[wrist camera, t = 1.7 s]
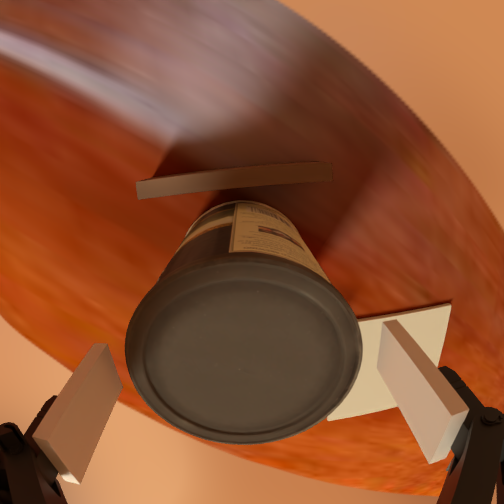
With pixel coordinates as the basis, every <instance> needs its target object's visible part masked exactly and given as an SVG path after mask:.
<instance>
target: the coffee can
mask: <svg viewBox="0 0 504 504" xmlns="http://www.w3.org/2000/svg"><path fill="white" fill-rule="evenodd" d="M362 356H363V342H362V336H361V330H360V327H359V324H358V321H357V318H356V316H355V314H354V312H353V310H352V309H351V307H350V306H349V304H348V303H347V301H346V300H345V299H344V297H343V296H342V295H341V293H340V292H339V291H338V290H337V289H336V288H335V287H334V286H333V285H332V284H331V282H330V280H329V279H328V277H327V276H326V274H325V273H324V271H323V270H322V268H321V267H320V265H319V263H318V262H317V261H316V259H315V258H314V256H313V255H312V253H311V251H310V250H309V248H308V247H307V246H306V244H305V242H304V241H303V239H302V238H301V236H300V234H299V233H298V231H297V229H296V228H295V226H294V225H293V223H292V222H291V221H290V220H289V219H288V218H287V217H286V216H285V215H283V214H282V213H281V212H279V211H278V210H276V209H274V208H272V207H270V206H268V205H266V204H263V203H259V202H254V201H245V200H237V201H231V202H226V203H223V204H220V205H217V206H215V207H213V208H211V209H210V210H208V211H207V212H205V213H204V214H202V215H201V216H200V217H199V218H198V219H197V220H196V221H195V222H194V223H193V224H192V226H191V227H190V229H189V230H188V232H187V234H186V236H185V238H184V240H183V242H182V243H181V245H180V246H179V248H178V250H177V251H176V253H175V254H174V256H173V257H172V259H171V261H170V262H169V263H168V265H167V267H166V268H165V270H164V271H163V272H162V274H161V276H160V277H159V279H158V281H157V283H156V284H155V286H154V287H153V288H152V289H151V290H150V291H149V292H148V293H147V294H146V295H145V297H144V298H143V299H142V301H141V302H140V304H139V305H138V307H137V308H136V310H135V312H134V314H133V316H132V318H131V320H130V322H129V325H128V329H127V332H126V338H125V357H126V364H127V368H128V371H129V374H130V377H131V380H132V381H133V384H134V386H135V388H136V390H137V391H138V393H139V395H140V396H141V397H142V399H143V400H144V401H145V402H146V404H147V405H148V406H149V407H150V408H151V409H152V410H153V411H154V412H155V413H156V414H158V415H159V416H160V417H161V418H163V419H164V420H165V421H167V422H168V423H170V424H171V425H173V426H174V427H176V428H178V429H180V430H182V431H184V432H186V433H188V434H191V435H193V436H196V437H199V438H202V439H205V440H209V441H213V442H218V443H225V444H237V445H252V444H263V443H269V442H274V441H278V440H282V439H285V438H289V437H292V436H294V435H297V434H299V433H301V432H303V431H306V430H308V429H309V428H311V427H313V426H314V425H316V424H318V423H319V422H321V421H322V420H324V419H325V418H326V417H327V416H329V415H330V414H331V413H332V412H333V411H334V410H335V409H336V408H337V407H338V406H339V405H340V404H341V403H342V402H343V400H344V399H345V398H346V397H347V395H348V394H349V392H350V390H351V389H352V387H353V385H354V383H355V381H356V379H357V376H358V373H359V371H360V367H361V362H362Z"/></svg>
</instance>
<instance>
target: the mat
mask: <svg viewBox="0 0 504 504" xmlns="http://www.w3.org/2000/svg"><path fill="white" fill-rule="evenodd" d="M450 310H451V304H450V303H447V304H442V305H437V306H432V307H427V308H421V309H416V310H411V311H405V312H400V313H394V314H388V315H382V316H376V317H369V318H363V319H357V321H358V324H359V327H360V330H361V336H362V342H363V356H362V362H361V367H360V371H359V373H358V376H357V379H356V381H355V383H354V385H353V387H352V389H351V390H350V392H349V394H348V395H347V397H346V398H345V399H344V400H343V402H342V403H341V404H340V405H339V406H338V407H337V408H336V409H335V410H334V411H333V412H332V413H331V414H330V415H329V416H327V420H328V421H332V420H337V419H343V418H348V417H353V416H358V415H363V414H368V413H372V412H377V411H381V410H385V409H389V408H393V407H397V406H398V405H397V403H396V401H395V400H394V398H393V396H392V394H391V392H390V391H389V389H388V387H387V385H386V384H385V382H384V380H383V378H382V377H381V375H380V373H379V371H378V370H377V361H378V354H379V346H380V338H381V330H382V322H384V321H389V320H395V319H397V320H398V321H399V323H400V324H401V325H402V326H403V327H404V328H405V330H406V331H407V332H408V333H409V334H410V335H411V337H412V338H413V339H414V340H415V341H416V343H417V344H418V345H419V346H420V347H421V349H422V350H423V351H424V352H425V353H426V355H427V356H428V357H429V358H430V360H431V361H432V362H433V363H434V364H435V366H436V367H437V366H438V363H439V359H440V355H441V351H442V347H443V343H444V339H445V334H446V330H447V325H448V321H449V316H450Z"/></svg>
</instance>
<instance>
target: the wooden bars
mask: <svg viewBox="0 0 504 504" xmlns="http://www.w3.org/2000/svg"><path fill="white" fill-rule="evenodd" d="M324 181H333V172H332V163H327V162H298V163H282V164H268V165H256V166H244V167H233V168H224V169H214V170H205V171H197V172H189V173H181V174H173V175H166V176H159V177H152V178H149V179H145V180H141V181H138V182H136V188H137V196H138V200H139V199H146V198H154V197H161V196H169V195H177V194H185V193H194V192H202V191H212V190H221V189H231V188H242V187H253V186H265V185H277V184H291V183H306V182H324Z"/></svg>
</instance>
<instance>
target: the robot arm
mask: <svg viewBox="0 0 504 504" xmlns="http://www.w3.org/2000/svg"><path fill="white" fill-rule="evenodd" d="M377 370H378V371H379V373H380V375H381V377H382V378H383V380H384V382H385V384H386V385H387V387H388V389H389V391H390V392H391V394H392V396H393V398H394V400H395V401H396V403H397V405H398V407H399V409H400V410H401V412H402V414H403V416H404V418H405V420H406V421H407V423H408V425H409V427H410V429H411V431H412V432H413V434H414V436H415V438H416V440H417V442H418V444H419V446H420V448H421V449H422V451H423V453H424V455H425V457H426V459H427V461H428V463H429V464H431V463H434V462H436V461H439V460H442V459H444V458H446V457H447V455H448V453H449V451H450V449H451V450H452V451H453V453H454V455H455V456H454V457H453V459H452V461H451V463H450V464H449V466H448V468H447V469H446V471H448V474H447V477H446V480H445V483H444V485H443V488H442V491H441V494H440V496H439V499H438V501H437V504H491V501H492V497H493V493H494V489H495V484H497V485H496V486H497V504H504V414H502V412H500V411H499V410H498V409H495V408H492V407H484V406H483V405H482V403H481V402H480V401H479V400H478V398H477V397H476V396H475V395H474V394H473V392H472V391H471V390H470V389H469V387H468V386H466V384H465V383H464V381H463V380H461V378H460V377H459V376H458V374H457V373H456V372H455V371H453V370H452V369H450V368H448V367H447V366H444V367H440V368H437V367H436V366H435V364H434V363H433V362H432V361H431V360H430V358H429V357H428V356H427V355H426V353H425V352H424V351H423V350H422V349H421V347H420V346H419V345H418V344H417V343H416V341H415V340H414V339H413V338H412V337H411V335H410V334H409V333H408V332H407V331H406V330H405V328H404V327H403V326H402V325H401V324H400V323H399V321H398V320H397V319H395V320H389V321H384V322H382V330H381V338H380V346H379V354H378V361H377ZM122 388H123V386H122V383H121V381H120V378H119V375H118V373H117V370H116V367H115V364H114V362H113V359H112V356H111V353H110V350H109V347H108V344H94V345H93V346H92V347H91V349H90V350H89V352H88V353H87V354H86V356H85V357H84V359H83V360H82V361H81V363H80V364H79V366H78V367H77V369H76V370H75V372H74V373H73V374H72V376H71V378H70V379H69V380H68V382H67V383H66V385H65V386H64V388H63V389H62V391H61V392H60V394H59V395H58V396H55V395H54V396H53V397H51V398H50V399H49V400H48V401H46V402H45V404H44V405H43V407H42V408H41V411H39V413H38V414H37V417H35V419H34V420H33V422H32V423H31V425H30V426H29V428H28V429H27V431H26V433H25V434H24V435H23V434H22V432H21V431H20V429H19V428H18V426H17V425H15V424H14V423H10V422H8V423H3V424H1V425H0V504H68V503H67V501H66V499H65V496H64V494H63V491H62V489H61V486H60V484H59V482H58V480H57V479H56V477H57V474H58V472H59V474H60V475H61V476H62V477H63V478H64V480H66V481H68V482H72V483H76V484H81V482H82V479H83V477H84V474H85V472H86V469H87V467H88V465H89V462H90V460H91V457H92V455H93V453H94V450H95V448H96V446H97V443H98V441H99V439H100V436H101V434H102V432H103V430H104V427H105V425H106V423H107V421H108V419H109V416H110V414H111V412H112V410H113V407H114V405H115V403H116V401H117V399H118V397H119V394H120V392H121V390H122Z"/></svg>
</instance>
